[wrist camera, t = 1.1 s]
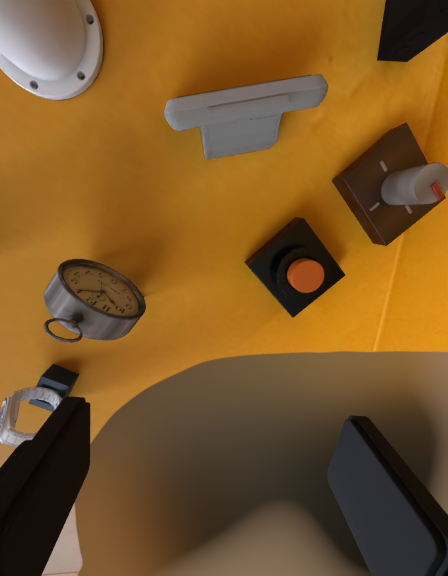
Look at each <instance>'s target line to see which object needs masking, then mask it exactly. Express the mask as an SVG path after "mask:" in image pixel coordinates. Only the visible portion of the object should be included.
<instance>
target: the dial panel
mask: <svg viewBox="0 0 448 576" xmlns="http://www.w3.org/2000/svg"><path fill="white" fill-rule="evenodd" d="M426 164H428V163H427V161H426V159H425V157H424V155H423V153H422V151H421V149H420V147H419V146H418V144H417V142H416V140H415V138H414V136H413V134H412V132H411V130H410V128H409V126H408V124H407V123H405V124H402V125H400V126H398V127H396V128H393V129H391V130H389V131H388V132H387V133H386V134H385V135H384V136H382V137H381V138H380V139H379V140H378V141H377V142H376V143H374V144H373V145H372V146H371V147H370V148H369V149H368V150H366V151H365V152H364V153H363V154H362V155H361V156H360V157H359V158H357V159H356V160H355V161H354V162H353V163H352V164H351V165H349V166H348V167H347V168H346V169H345V170H344V171H343V172H342V173H340V174H339V175H338V176H337V177H336V178H335V179H334V180H332V182H333V183H334V185H335V186H336V188H337V189H338V191H339V192H340V194H341V195H342V197H343V198H344V200H345V201H346V203H347V205H348V206H349V208H350V209H351V211H352V212H353V214H354V215H355V217H356V218H357V220H358V221H359V223H360V224H361V226H362V227H363V229H364V230H365V232H366V233H367V235H368V236H369V238H370V239H371V241H372V242H373V243H374V244H379V245H385V246H387V245H388V244H389V243H391V242H392V241H393V240H394V239H396V238H397V237H398V236H399V235H401V234H402V233H403V232H404V231H406V230H407V229H408V228H409V227H410V226H412V225H413V224H414V223H415V222H417V221H418V220H419V219H420V218H422V217H423V216H424V215H425V214H427V213H428V212H429V211H430V210H432V209H433V208H434V207H435V206H436V205H438V204H439V203H440V202H441V201H443V200H444V199H445V198H446V197H445V195H443V196H444V198H442V199H441V200H438V201H436V202H434V203H431V204H416V205H389V204H387V203H386V202H385V201H384V200H383V198H382V196H381V187H382V184H383V182H384V180H385V179H386V177H387V176H388V175H389V174H391V173H393V172H395V171H399V170H403V169H408V168H412V167H417V166H422V165H426Z"/></svg>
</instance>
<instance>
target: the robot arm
mask: <svg viewBox="0 0 448 576" xmlns="http://www.w3.org/2000/svg"><path fill="white" fill-rule="evenodd" d="M92 23H93V24H92ZM102 57H103V36H102V30H101V25H100V22H99V19H98V16H97V13H96V11H95V9H94V7H93V5H92V3H91V1H90V0H0V68H1V69H2V70H3V71H4V73H5V74H6V75H8V76H9V77H10V78H11V79H12V80H13V81H14V82H15V83H17V84H18V85H20V86H21V87H22V88H24V89H25V90H27V91H29V92H31V93H33V94H35V95H37V96H40V97H43V98H46V99H54V100H62V99H69V98H72V97H75V96H77V95H79V94H80V93H82V92H84V91H85V90H86V89H87V88H88V87H89V86H90V85H91V84H92V83H93V81H94V79H95V78H96V76H97V74H98V72H99V69H100V66H101V63H102ZM84 77H85V79H84V80H83V78H84ZM37 87H38V88H37ZM89 465H90V403H87V402H86V401H85V398H83V397H68V396H66V397H65V398H64V399H63V400H62V401H61V402H60V404H59V405H58V406H57V408H56V409H55V410H54V411H53V413H52V414H51V415H50V417H49V418H48V419H47V421H46V422H45V423H44V424H43V426H42V427H41V428H40V430H39V431H38V432H37V434H36V435H35V436H34V438H33V439H32V440H25V441H24V442H22V443H21V444H20V445H19V446H18V447H17V448H16V449H15V450H14V452H13V453H12V454H11V455H10V457H9V458H8V459H7V460H6V461H5V463H4V464H3V465H2V466H1V468H0V576H41V575H42V573H43V571H44V568H45V566H46V564H47V562H48V560H49V557H50V555H51V553H52V551H53V549H54V546H55V544H56V542H57V540H58V537H59V535H60V533H61V531H62V529H63V526H64V524H65V522H66V520H67V518H68V515H69V513H70V511H71V509H72V506H73V504H74V502H75V500H76V498H77V495H78V493H79V491H80V489H81V487H82V484H83V482H84V480H85V478H86V475H87V473H88V470H89ZM327 477H328V482H329V484H330V486H331V489H332V491H333V493H334V495H335V497H336V499H337V501H338V504H339V506H340V508H341V510H342V512H343V514H344V516H345V519H346V521H347V523H348V525H349V527H350V529H351V531H352V534H353V536H354V538H355V540H356V542H357V544H358V546H359V549H360V551H361V553H362V555H363V557H364V559H365V561H366V564H367V566H368V568H369V570H370V572H371V574H372V576H448V515H447V514H446V512H445V511H444V510H443V509H442V507H441V506H440V505H439V504H438V502H437V501H436V500H435V499H434V498H433V496H432V495H431V494H430V493H429V491H428V490H427V489H426V488H425V486H424V485H423V484H422V483H421V482H420V480H419V479H418V478H417V477H416V476H415V474H414V473H413V472H412V471H411V469H410V468H409V467H408V466H407V464H406V463H405V462H404V461H403V459H402V458H401V457H400V456H399V455H398V454H397V452H396V451H395V450H394V448H393V447H392V446H391V445H390V444H389V442H388V441H387V440H386V439H385V437H384V436H383V435H382V434H381V432H380V431H379V430H378V429H377V428H376V427H375V425H374V424H373V423H372V422H371V420H370V419H369V418H367V417H366V416H350V417H349V418H348V419H347V420H345V422H344V425H343V428H342V431H341V433H340V437H339V439H338V442H337V445H336V448H335V451H334V454H333V457H332V460H331V463H330V466H329V468H328V472H327Z"/></svg>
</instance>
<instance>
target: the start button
mask: <svg viewBox="0 0 448 576" xmlns="http://www.w3.org/2000/svg"><path fill="white" fill-rule="evenodd" d="M287 279H288V282H289V283H290V285H292V286H293V287H294V288H295V289H296V290H298V291H300V292H303V293H309V292H312V291H315V290H316V289H317V288H319V287H320V285H321V284H322V282H323V279H324V270H323V268H322V266H321V265H320V264H319V263H318V262H316V261H313V260H311V259H308V258H299V259H297V260H295V261H294V262H292V263H291V265H290V266H289V268H288V270H287Z"/></svg>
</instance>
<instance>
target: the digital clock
mask: <svg viewBox="0 0 448 576" xmlns="http://www.w3.org/2000/svg"><path fill="white" fill-rule="evenodd" d="M327 91H328V84H327V82H326V80H325V79H324V78H323V76H322V75H321V74H318V75H312V76H311V75H306V76H300V77H294V78H288V79H282V80H276V81H270V82H264V83H258V84H252V85H246V86H240V87H234V88H228V89H222V90H216V91H210V92H204V93H198V94H192V95H186V96H180V97H177V98H174V99H169V100H168V101H167V104H166V107H165V110H164V115H165V118H166V120H167V122H168V123H169V125H170V126H171V127H172V128H173V129H175V130H181V131H184V130H187V129H189V128H195V127H200V131H201V137H202V143H203V148H204V154H205V159H206V160H207V159H213V158H218V157H224V156H230V155H236V154H241V153H247V152H253V151H258V150H264V149H269V148H270V147H271V146H272V145H273V144H274V143H275V142H276V141H277V139H278V134H279V125H280V120H281V116H282V113H283V112H289V111H295V110H301V109H306V108H312V107H317V106H318V105H319V104H320V103H321V102H322V101H323V99H324V98H325V96H326V93H327Z"/></svg>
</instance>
